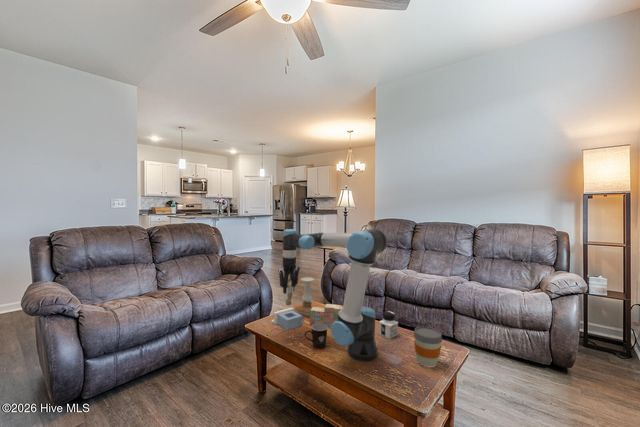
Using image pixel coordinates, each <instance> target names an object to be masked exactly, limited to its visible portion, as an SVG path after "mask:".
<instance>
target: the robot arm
mask: <svg viewBox="0 0 640 427" xmlns="http://www.w3.org/2000/svg"><path fill="white" fill-rule="evenodd" d="M388 240H389V239H388V237H387V235H386V234H385V232H383V231H382V230H380V229H377V228H376V229H375V228H374V229H366V230H365V229H364V230H363V229H362V230H358V231H355V232H317V233H308V234H306V233H305V234H301V233H297V229H293V228H292V229H291V228H290V229H289V228H287V229H284V230H283V234H282V267H281V269H278V274H279V287H281V288H282V293H283V295H284V296H283V299H285V301H286V300H287V299H288V288H287V283H288V279H291V280H292V286H291V299H294V292H295V287H296V285H298V283H299V282H298V281H299V271H300V269H301V268H300V267H298V266H297V265H296V264H297V249H301V250H307V251H308V250H311V249H313V248H317V247H332V248H346V250H347V252H348V254H349V256H348V258H349V260H350V261H351V263H350V269H349V274H348V277H347V278H348V279H347V283H346V284H347V285H346V289H345V295H344V299H343V305H342V306H343V309H341V310H340V311H339V312H338V317H337V321H335V322H333V324H332V325H331V327H330V332H331V333H330V334H331V336H332V337H333V340H334V341H335V342H336V343H337V344H338V345H339V346H341V347H347V354H348V355H349V356H350V357H351V358H353V359H354V360H358V361H365V362H366V361H372V360H374V359H376V358H378V353H379V350H378V347H377V344H376V338H375V337H376V336H375V335H376V311H375V310H374V309H373V308H371V307H369V306H364V304H363V303H364V298H365V293H366V291H367V290H366V289H367V284H368V279H369V274H370V270H371V266H373V265H375V262H376V260H377V259H376V258H377V255H379V254H381V253H383V252H384V251H385V250H386V248H387V247H388V244H389V243H388Z"/></svg>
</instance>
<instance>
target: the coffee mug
mask: <svg viewBox="0 0 640 427" xmlns="http://www.w3.org/2000/svg"><path fill="white" fill-rule="evenodd" d="M310 328H311V330H307V331H306V332H305V333H304V337H305V339H307V341H310V342H311V343H312V346H313V348H315V349H317V350H319V349H320V350H322V349H324V348H325V347H326V342H327V335H328V329H329V327H327V326H326V325H324V324H314V325H311V327H310ZM308 333H310V334H311V337H312V339H311V338H308V337H307V334H308Z"/></svg>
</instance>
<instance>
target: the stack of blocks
mask: <svg viewBox="0 0 640 427" xmlns="http://www.w3.org/2000/svg"><path fill="white" fill-rule="evenodd" d="M341 309H343V305H340V304H330V303H326V304H325V305H324V307H316V306H312V309H311V310H310V318H309V325H311V326H312V325H314V324H324V325H326V326H327V327H328V328H331V325H332V324H333V322H335V321H337V317H338V312H339V311H340V310H341Z"/></svg>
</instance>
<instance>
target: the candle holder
mask: <svg viewBox="0 0 640 427" xmlns="http://www.w3.org/2000/svg"><path fill="white" fill-rule="evenodd" d="M299 280H300V282H301V283H303V284H304V287H303V290H304V293H303V294H302V297H301V300H302V301H303V302H302V306H301V307H299V308H298V309H297V311H295V312H296V313H298V314H300V315H302V316H303V317H304V318H308V319H310V310H311V309H312V307H313V306H312V304H313V303H312V302H313V296H312V293H311V289H312V287H311V284H312V283H314V282H315V281H316V278H314V277H312V276H303V277H301V278H299ZM303 317H302V318H303Z"/></svg>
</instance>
